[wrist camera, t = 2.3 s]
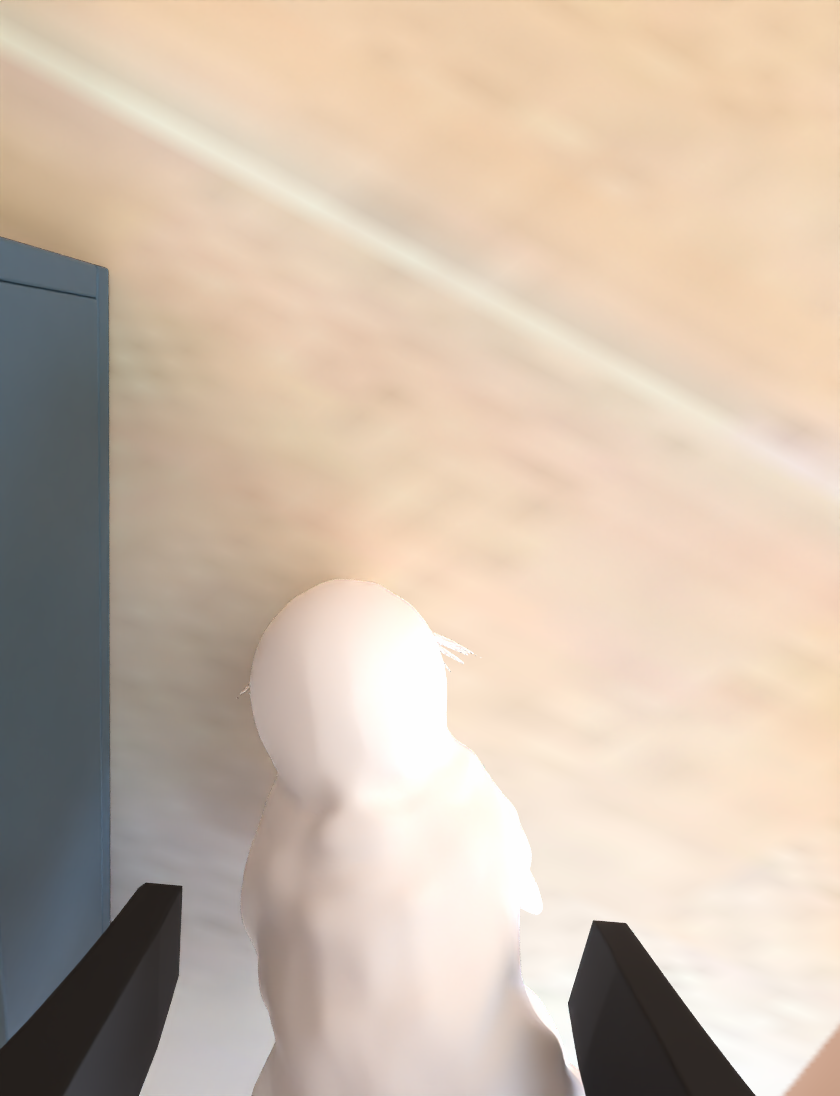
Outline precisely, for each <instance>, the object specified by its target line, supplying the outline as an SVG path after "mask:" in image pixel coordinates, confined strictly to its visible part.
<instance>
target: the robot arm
mask: <svg viewBox="0 0 840 1096" xmlns="http://www.w3.org/2000/svg"><path fill="white" fill-rule="evenodd" d="M181 909H182V886H177V885H165V884H154V883H145V884H143V885H142V886H140V887H139V888H138V889H137V891H136V892H135V893H134V895H133V896H132V897H131V899H130V900H129V901H128V903H127V904H126V905H125V906H124V908H123V909H122V910H121V912H120V913H119V914H118V915H117V917H116V918H115V919H114V920H113V922H112V923H111V924H110V926H109V927H108V928H107V929H106V930H105V932H104V933H103V934H102V935H101V937H100V938H99V939H98V940H97V941H96V943H95V944H94V945H93V946H92V947H91V949H90V950H89V951H88V952H87V953H86V955H85V956H84V957H83V958H82V959H81V961H80V962H79V963H78V964H77V965H76V966H75V968H74V969H73V970H72V971H71V972H70V973H69V974H68V976H67V977H66V978H65V979H64V980H63V981H62V982H61V984H60V985H59V986H58V987H57V988H56V989H55V990H54V991H53V993H52V994H51V995H50V996H49V997H48V998H47V999H46V1001H45V1002H44V1003H43V1004H42V1005H41V1006H40V1007H39V1009H38V1010H37V1011H36V1012H35V1013H34V1014H33V1015H32V1016H31V1017H30V1018H29V1019H28V1021H27V1022H26V1023H25V1024H24V1025H23V1026H22V1027H21V1028H20V1029H19V1030H18V1031H17V1032H16V1033H15V1034H14V1035H13V1036H12V1037H11V1038H10V1040H9V1041H8V1042H7V1043H6V1044H5V1045H4V1046H3V1047H2V1048H1V1049H0V1096H139V1094H140V1091H141V1089H142V1086H143V1083H144V1081H145V1078H146V1076H147V1073H148V1071H149V1068H150V1065H151V1063H152V1060H153V1058H154V1055H155V1053H156V1050H157V1047H158V1044H159V1040H160V1037H161V1034H162V1031H163V1027H164V1024H165V1021H166V1017H167V1014H168V1011H169V1007H170V1004H171V1000H172V997H173V993H174V990H175V987H176V983H177V980H178V976H179V958H180V933H181ZM568 1007H569V1013H570V1019H571V1025H572V1032H573V1038H574V1044H575V1049H576V1055H577V1060H578V1066H579V1071H580V1076H581V1080H582V1084H583V1088H584V1092H585V1095H586V1096H755V1094H754V1093H753V1092H752V1091H751V1089H750V1088H749V1087H748V1086H747V1084H746V1083H745V1082H744V1081H743V1079H742V1078H741V1077H740V1076H739V1074H738V1073H737V1072H736V1071H735V1069H734V1068H733V1067H732V1065H731V1064H730V1063H729V1061H728V1060H727V1059H726V1058H725V1056H724V1055H723V1054H722V1052H721V1051H720V1050H719V1048H718V1047H717V1046H716V1045H715V1043H714V1042H713V1041H712V1039H711V1038H710V1037H709V1035H708V1034H707V1033H706V1031H705V1030H704V1029H703V1028H702V1026H701V1025H700V1024H699V1022H698V1021H697V1020H696V1018H695V1017H694V1016H693V1014H692V1013H691V1012H690V1010H689V1009H688V1007H687V1006H686V1005H685V1003H684V1002H683V1001H682V999H681V998H680V997H679V995H678V994H677V992H676V991H675V990H674V988H673V987H672V986H671V984H670V983H669V982H668V980H667V979H666V977H665V976H664V975H663V973H662V972H661V970H660V969H659V968H658V966H657V965H656V964H655V962H654V961H653V959H652V958H651V957H650V955H649V954H648V952H647V951H646V950H645V948H644V947H643V946H642V944H641V943H640V941H639V940H638V939H637V937H636V936H635V935H634V933H633V932H632V931H631V929H630V928H629V926H628V925H627V924H626V923H618V922H606V921H594V920H593V923H592V926H591V929H590V933H589V936H588V939H587V942H586V946H585V949H584V952H583V956H582V959H581V962H580V966H579V969H578V972H577V975H576V979H575V982H574V985H573V989H572V992H571V995H570V998H569V1002H568Z"/></svg>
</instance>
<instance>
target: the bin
mask: <svg viewBox="0 0 840 1096" xmlns="http://www.w3.org/2000/svg"><path fill="white" fill-rule="evenodd" d="M109 926H110V707H109V295H108V269H107V268H105V267H102V266H99V265H95V264H92V263H88V262H85V261H81V260H78V259H75V258H71V257H68V256H65V255H61V254H58V253H54V252H51V251H48V250H44V249H41V248H38V247H34V246H31V245H27V244H24V243H21V242H17V241H14V240H11V239H7V238H4V237H1V236H0V1049H1V1048H2V1047H3V1046H4V1045H5V1044H6V1043H7V1042H8V1041H9V1040H10V1038H11V1037H12V1036H13V1035H14V1034H15V1033H16V1032H17V1031H18V1030H19V1029H20V1028H21V1027H22V1026H23V1025H24V1024H25V1023H26V1022H27V1021H28V1019H29V1018H30V1017H31V1016H32V1015H33V1014H34V1013H35V1012H36V1011H37V1010H38V1009H39V1007H40V1006H41V1005H42V1004H43V1003H44V1002H45V1001H46V999H47V998H48V997H49V996H50V995H51V994H52V993H53V991H54V990H55V989H56V988H57V987H58V986H59V985H60V984H61V982H62V981H63V980H64V979H65V978H66V977H67V976H68V974H69V973H70V972H71V971H72V970H73V969H74V968H75V966H76V965H77V964H78V963H79V962H80V961H81V959H82V958H83V957H84V956H85V955H86V953H87V952H88V951H89V950H90V949H91V947H92V946H93V945H94V944H95V943H96V941H97V940H98V939H99V938H100V937H101V935H102V934H103V933H104V932H105V930H106V929H107V928H108V927H109Z"/></svg>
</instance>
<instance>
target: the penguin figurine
mask: <svg viewBox="0 0 840 1096" xmlns="http://www.w3.org/2000/svg"><path fill="white" fill-rule="evenodd" d="M440 644H441V645H443V646H446V647H449V648H451V649H454V650H455V651H459V652H460V653H464V654H465V655H469V654H467V653H466V652H469V653H471V654H473V652H472V651H470V650H469V649H467V648H465V647H463V646H462V645H460V644H458V643H456V642H454V641H452V640H451V639H448V638H446V637H445V636H442V635H440V634H437V633H435V632H433V631H431V630H430V628H429V627H428V625H427V623H426V622H425V621H424V619H423V618H422V617H421V615H420V614H419V613H418V612H417V611H416V609H415V608H414V607H413V606H412V605H411V604H410V603H408V602H407V601H406V600H404V599H402V598H401V597H399V596H397V595H396V594H394V593H392V592H391V591H389V590H388V589H386V588H385V587H383V586H382V585H380V584H377V583H374V582H368V581H358V580H350V579H334V580H330V581H326V582H323V583H320V584H318V585H316V586H314V587H313V588H311V589H309V590H307V591H306V592H304V593H302V594H300V595H298V596H296V597H294V598H293V599H292V600H291V601H290V602H289V603H288V604H287V605H286V606H285V607H284V608H283V609H282V610H281V611H280V612H279V613H278V614H277V615H276V616H275V618H274V619H273V620H272V621H271V622H270V624H269V625H268V627H267V628H266V630H265V632H264V633H263V635H262V637H261V639H260V642H259V644H258V646H257V649H256V652H255V655H254V659H253V663H252V668H251V676H250V683H249V684H248V686H247V687H246V688H244V690H243V691H242V692H241V693H240V695H242V694H243V693H244V692H245V691H247V690H248V689H249V688H250V691H249V693H248V694H250V697H251V706H252V712H253V716H254V721H255V724H256V727H257V730H258V733H259V736H260V738H261V740H262V743H263V745H264V747H265V749H266V751H267V753H268V754H269V756H270V758H271V760H272V762H273V764H274V766H275V768H276V769H277V771H278V774H277V777H276V779H275V782H274V784H273V786H272V788H271V791H270V793H269V795H268V798H267V800H266V804H265V807H264V810H263V814H262V817H261V820H260V823H259V826H258V828H257V831H256V834H255V837H254V839H253V842H252V845H251V848H250V851H249V855H248V858H247V862H246V866H245V871H244V876H243V883H242V890H241V916H242V921H243V924H244V927H245V929H246V931H247V933H248V936H249V937H250V939H251V941H252V943H253V945H254V948H255V950H256V952H257V955H258V977H259V987H260V992H261V996H262V999H263V1002H264V1004H265V1006H266V1007H267V1009H268V1012H269V1016H270V1020H271V1024H272V1027H273V1031H274V1035H275V1039H276V1042H275V1044H274V1047H273V1049H272V1051H271V1053H270V1055H269V1057H268V1059H267V1061H266V1063H265V1065H264V1067H263V1069H262V1071H261V1074H260V1076H259V1078H258V1080H257V1082H256V1084H255V1086H254V1088H253V1091H252V1096H586V1095H585V1092H584V1088H583V1084H582V1080H581V1076H580V1071H579V1069H577V1068H576V1067H575V1066H573V1065H572V1064H570V1063H568V1060H567V1057H566V1053H565V1050H564V1047H563V1044H562V1041H561V1038H560V1035H559V1033H558V1030H557V1028H556V1026H555V1024H554V1022H553V1020H552V1018H551V1016H550V1014H549V1013H548V1011H547V1009H546V1007H545V1006H544V1004H543V1002H542V1001H541V1000H540V998H539V997H538V996H537V995H536V994H535V993H534V992H533V991H532V990H531V989H530V988H529V987H527V986H526V985H524V982H523V978H522V974H521V960H520V918H519V914H520V907H521V908H522V909H524V910H526V911H528V912H530V913H533V914H539V913H540V912H541V910H542V899H541V897H540V893H539V890H538V886H537V884H536V880H535V879H534V878H533V876H532V874H531V872H530V869H529V868H530V864H531V850H530V846H529V843H528V840H527V838H526V835H525V833H524V831H523V829H522V827H521V825H520V821H519V817H518V814H517V812H516V810H515V808H514V806H513V805H512V803H511V802H510V801H509V800H508V799H507V798H506V797H505V796H504V794H503V793H502V792H501V791H500V789H499V788H498V787H497V785H496V784H495V783H494V781H493V780H492V779H491V777H490V776H489V775H488V773H487V772H486V770H485V768H484V767H483V765H482V764H481V762H480V760H479V759H478V757H477V756H476V755H475V753H474V752H473V751H472V750H471V749H470V748H468V747H467V746H465V745H464V744H462V743H460V742H459V741H457V740H456V739H455V738H454V737H453V736H452V734H451V733H450V732H449V730H448V729H447V726H446V702H447V683H446V674H445V668H444V664H445V663H443V659H442V656H441V653H440V652H442V653H444V654H445V655H447V656H450V657H452V658H453V659H455V660H457V661H459V662H460V663H462V664H464V662H463V661H461V660H460V659H459V658H457V657H455V656H454V655H453V654H452V653H450V652H449V651H448V650H446V649H444V648H443V647H442V646H441V645H440ZM460 649H461V650H460ZM463 650H464V651H466V652H464V651H463ZM475 656H477V655H475ZM445 666H446V664H445ZM447 668H448V667H447ZM448 670H449V668H448ZM450 672H451V671H450ZM237 698H238V697H237Z"/></svg>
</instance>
